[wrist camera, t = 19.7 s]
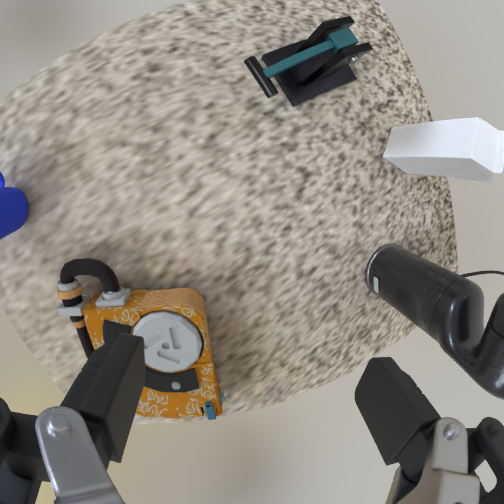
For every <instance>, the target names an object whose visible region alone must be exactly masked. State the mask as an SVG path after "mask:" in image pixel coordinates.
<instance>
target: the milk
mask: <svg viewBox="0 0 504 504" xmlns="http://www.w3.org/2000/svg"><path fill="white" fill-rule="evenodd" d="M383 158H385V159H386V160H388V161H389V162H391V163H392V164H394V165H395V166H397V167H398V168H400V169H401V170H403V171H404V172H405V173H411V174H423V175H434V176H444V177H454V178H462V179H470V180H477V181H484V182H491V183H492V180H493V176H494V173H500V174H501V173H502V172H503V168H504V131H499V130H497V129H496V128H494V127H493V126H491V125H490V124H488V123H487V122H485V121H483V120H482V119H480V118H479V117H475V118H462V119H451V120H442V121H433V122H425V123H418V124H411V125H404V126H398V127H392V129H391V132H390V136H389V139H388V142H387V145H386V148H385V151H384V155H383Z"/></svg>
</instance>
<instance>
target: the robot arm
mask: <svg viewBox="0 0 504 504" xmlns="http://www.w3.org/2000/svg"><path fill="white" fill-rule="evenodd" d="M487 273H496V274H502V275H504V272H499V271H480V272H474V273H467V274H463V275H458V274H456V273H454V272H452V271H450V270H448V269H445V268H443V267H441V266H439V265H437V264H435V263H433V262H431V261H428V260H426V259H424V258H422V257H420V256H418V255H415V254H413V253H411V252H409V251H407V250H404V249H402V248H401V247H399V246H397V245H393V244H389V245H385V246H383V247H381V248H380V249H378V250H377V251H376V252H375V253H374V254H373V256H372V257H371V259H370V261H369V263H368V265H367V269H366V283H367V286H368V288H369V289H370V290H371V291H372V292H373V293H375V294H376V295H378V296H379V297H381V298H382V299H383V300H385V301H386V302H387V303H389V304H390V305H391V306H392V307H394V308H395V309H396V310H398V311H399V312H400V313H402V314H403V315H404V316H405V317H407V318H408V319H409V320H411V321H412V322H413V323H414V324H416V325H417V326H418V327H420V328H421V329H422V330H424V331H425V332H426V333H427V334H429V335H430V336H431V337H432V338H433V339H435V340H436V341H437V342H438V343H439V344H440V346H441V348H442V349H443V351H444V352H446V353H447V354H448V355H449V356H450V357H451V358H452V359H454V361H456V363H457V364H458V365H459V366H460V367H461V368H462V369H463V370H464V371H465V372H466V373H467V374H468V375H469V376H470V377H471V378H472V379H473V380H474V381H475V382H476V383H477V384H478V385H480V386H481V387H482V388H483V389H484V390H486V391H487V392H488V393H490V394H492V395H493V396H495V397H497V398H500V399H504V293H502V294H501V295H500V296H499V298H498V299H497V301H496V303H495V306H494V308H493V311H492V313H491V316H490V319H489V321H488V323H487V326H486V328H485V330H484V319H483V317H484V295H483V292H482V290H481V288H480V287H479V286H478V285H477V284H476V283H474V282H472V281H470V280H468V279H466V278H464V277H468V276H473V275H479V274H487ZM144 383H145V352H144V338H143V337H141V336H136V335H131V334H127V333H120V334H119V336H118V338H117V339H116V341H115V343H114V344H113V346H112V345H108V344H103V345H102V346H100V347H99V348H97V349H96V350H94V351H93V352H92V354H91V355H90V357H89V359H88V360H87V363H86V364H85V365H84V367H83V368H82V370H81V372H80V373H79V375H78V376H77V378H76V380H75V381H74V383H73V385H72V386H71V388H70V390H69V391H68V393H67V395H66V396H65V398H64V400H63V402H62V403H61V405H60V406H55V407H50V408H47V409H46V410H44V411H43V412H41V413H40V414H39V416H35V415H28V414H22V413H15V412H11V411H10V409H9V407H8V405H7V403H6V402H5V401H4V400H3V399H2V398H0V504H35V502H36V498H37V495H38V492H39V488H40V485H41V482H42V481H46V482H51V484H52V487H53V489H54V492H55V496H56V500H55V501H54V504H125V502H124V501H123V499H122V498H121V496H120V495H119V493H118V491H117V489H116V487H115V486H114V484H113V482H112V480H111V478H110V476H109V475H108V473H107V468H108V465H109V462H110V460H111V461H115V462H118V463H121V460H122V456H123V453H124V449H125V446H126V442H127V439H128V435H129V432H130V429H131V425H132V422H133V419H134V416H135V413H136V409H137V406H138V403H139V400H140V397H141V394H142V391H143V388H144ZM355 401H356V404H357V406H358V408H359V410H360V412H361V414H362V416H363V418H364V420H365V422H366V424H367V426H368V429H369V431H370V433H371V435H372V437H373V438H374V441H375V443H376V445H377V447H378V449H379V451H380V453H381V455H382V458H383V460H384V462H385V464H386V465H390V464H394V463H397V462H399V464H400V466H399V467H398V468H397V470H396V472H395V476H394V479H393V483H392V486H391V489H390V493H389V495H388V498H387V501H386V504H504V426H503V425H502V424H501V423H500V422H499V421H498V420H497V419H495V418H491V417H486V418H484V419H483V420H482V421H481V422H480V424H479V425H478V426H477V428H467V429H466V428H465V427H464V425H463V424H462V423H461V422H459V421H458V420H456V419H454V418H450V417H445V418H441V417H440V415H439V414H438V413H437V411H436V410H435V409H434V407H433V406H432V405H431V403H430V402H429V401H428V399H427V398H426V397H425V395H424V394H422V391H421V390H420V389H419V387H417V385H416V383H415V382H414V381H413V379H412V378H411V377H410V376H409V375H408V374H406V373H405V372H404V371H402V370H401V369H400V368H399V366H398V365H397V364H396V362H395V361H394V360H393V359H392V358H391V357H380V358H379V357H378V358H372V359H370V361H369V362H368V364H367V366H366V369H365V371H364V373H363V375H362V377H361V379H360V381H359V383H358V385H357V387H356V390H355ZM485 459H486V461H487V462H488V464H489V465H490V467H491V469H492V471H493V472H494V474H495V476H496V478H497V484H496V486H495V488H494V489H493V490H491V491H490V492H489V493H488V492H486V491H485V489H484V487H483V485H482V483H481V482H480V479H479V476H477V475H476V473H475V471H474V470H475V469H476V468H477V467H478V466H479V465H480V464H481V463H482V462H483V461H484V460H485Z"/></svg>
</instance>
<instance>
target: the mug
mask: <svg viewBox="0 0 504 504" xmlns="http://www.w3.org/2000/svg"><path fill="white" fill-rule="evenodd" d="M4 185H5V181H4V177H3V175H2V173H1V172H0V239H2V238H3V237H5V236H7V235H9V234H10V233H12V232H14V231H16V230H17V229H19V228H20V227H21V226H22V225H23V224H24V222H25V220H26V218H27V213H28V204H27V200H26V197H25V195H24V194H23V192H22V191H20V190H19V189H17V188H13V187H4Z"/></svg>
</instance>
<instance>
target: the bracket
mask: <svg viewBox="0 0 504 504" xmlns="http://www.w3.org/2000/svg"><path fill="white" fill-rule="evenodd" d="M353 23H354V20H353V19H352V18H351V16H348V17H343V18H338V19H334V20H333V19H331V20H328V21H325V22H322V23H321V24H320V26H319V27H318V28H317V29H316V30H315V31H314V32H313V33H312V34H311V36H310V37H309V38H308V39H306V40H303V41H300V42H297V43H294V44H291V45H288V46H285V47H282V48H280V49H277V50H274V51H272V52H269V53H266V54H264V55H263V56H262V59H263V61H264V62H265V64H266V65H267V67H270V66H272V65H274V64H276V63H278V62H280V61H282V60H284V59H286V58H289V57H291V56H293V55H295V54H297V53H299V52H302V51H304V50H306V49H309V48H311V47H313V46H316V45H318V44H321V43H323V42H326V39H327V37H328V35H329V34H331V33H334V32H336V31H339V30H342V29H345V28H348V27H350V26H351V25H352V24H353ZM372 49H373V48H372V47H371V45H370V43H369V42H367V43H364V44H360V45H356V46H353V47H349V48H346V49H342V50H341V51H340V52H338V53H337V54H335V52H334V51H333V50H330V51H328V52H325V53H323V54H320V55H318V56H315V57H313V58H311V59H309V60H306V61H304V62H302V63H300V64H297V65H295V66H293V67H291V68H289V69H287V70H285V71H283V72H281V73H279V74H277V75H275V76H274V77H275V79H276V80H277V82H278V83H279V85H280V87H281V88H282V90H283V91H284V93H285V94H286V96H287V98H288V99H289V101H290V103H291V104H292V106H293V107H294V106H296V105H298V104H300V103H302V102H304V101H307V100H309V99H311V98H313V97H316V96H318V95H320V94H322V93H325V92H327V91H329V90H332V89H334V88H337V87H339V86H342V85H344V84H347V83H349V82H352V81H354V80H356V79H357V78H356V76H355V75H354V73H353V71H352V70H351V68H350V66H349V65H348V64H350V63H353V62H355V61H357V60H359V59H360V58H359V57H361V56H362V55H364V54H366V53H367V52H369V51H371V50H372Z"/></svg>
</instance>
